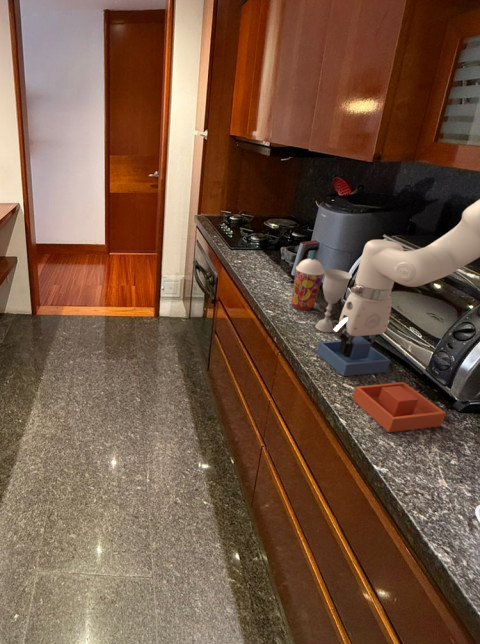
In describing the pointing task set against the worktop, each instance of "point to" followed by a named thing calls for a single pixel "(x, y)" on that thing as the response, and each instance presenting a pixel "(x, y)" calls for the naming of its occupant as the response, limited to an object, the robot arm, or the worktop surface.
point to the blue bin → (352, 367)
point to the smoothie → (307, 283)
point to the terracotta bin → (421, 417)
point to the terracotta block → (397, 401)
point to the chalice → (332, 294)
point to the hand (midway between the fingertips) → (352, 352)
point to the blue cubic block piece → (359, 348)
